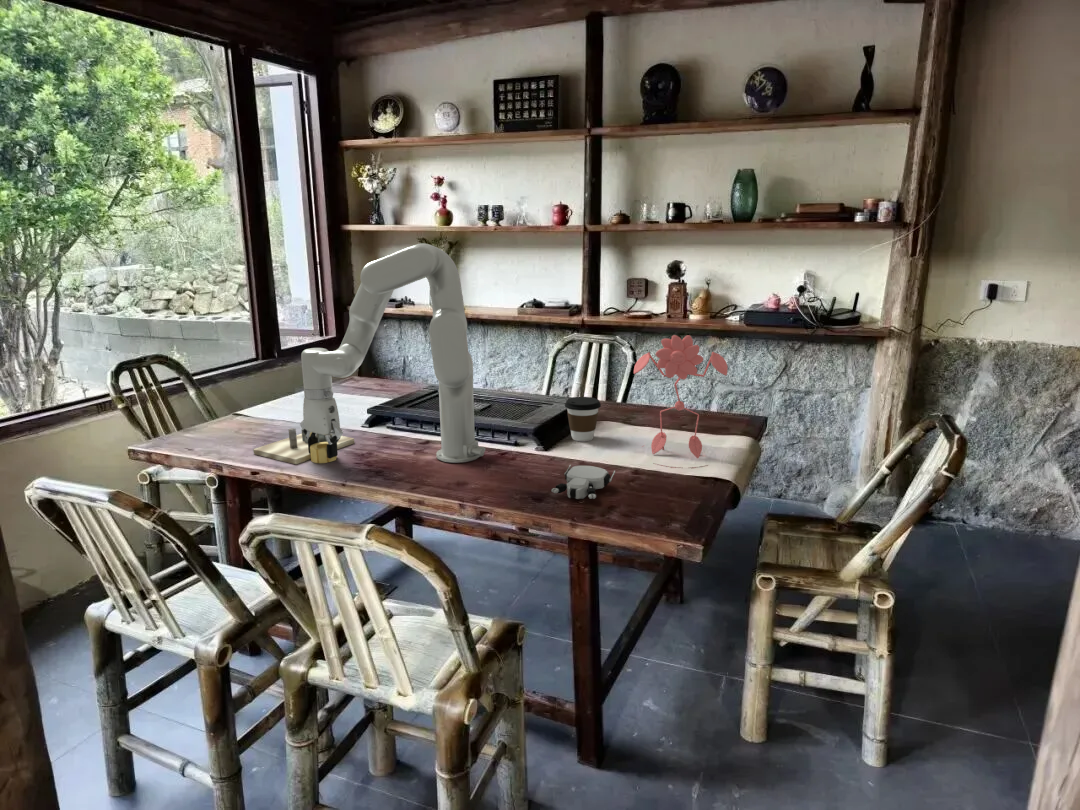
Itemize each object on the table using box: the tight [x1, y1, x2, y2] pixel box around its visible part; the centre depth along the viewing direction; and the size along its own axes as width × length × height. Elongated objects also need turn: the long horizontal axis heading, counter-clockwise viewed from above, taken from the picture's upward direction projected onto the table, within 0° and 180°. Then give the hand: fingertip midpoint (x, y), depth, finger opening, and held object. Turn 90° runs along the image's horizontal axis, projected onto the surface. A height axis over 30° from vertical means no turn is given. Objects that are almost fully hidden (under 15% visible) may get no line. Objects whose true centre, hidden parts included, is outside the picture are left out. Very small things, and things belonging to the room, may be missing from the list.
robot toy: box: [551, 464, 616, 500], centre depth 171 cm, size 12×4×15 cm
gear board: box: [252, 427, 356, 465], centre depth 205 cm, size 18×22×7 cm
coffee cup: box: [564, 396, 602, 442], centre depth 212 cm, size 11×11×12 cm
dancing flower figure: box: [633, 334, 728, 469], centre depth 190 cm, size 15×26×35 cm, turn 68°
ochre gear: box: [310, 442, 338, 464], centre depth 196 cm, size 7×7×4 cm
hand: (323, 454), depth 196 cm, fingers open, 6 cm apart
